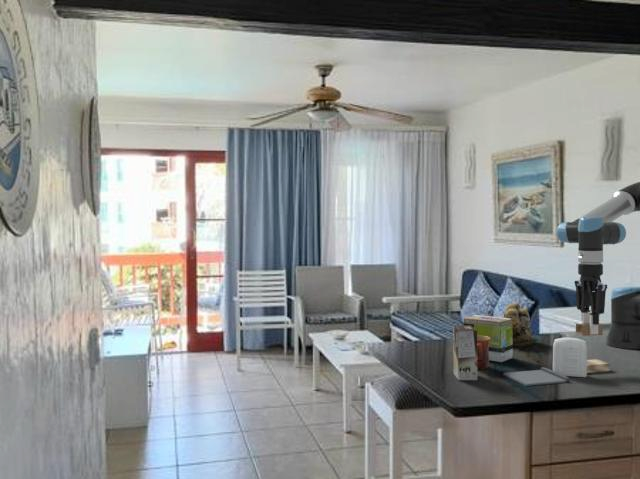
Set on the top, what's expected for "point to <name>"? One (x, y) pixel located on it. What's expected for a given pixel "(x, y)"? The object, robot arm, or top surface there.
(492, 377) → the top surface
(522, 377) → the mat
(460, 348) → the coffee box
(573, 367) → the photo printer
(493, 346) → the tea box
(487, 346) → the mug
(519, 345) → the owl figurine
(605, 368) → the rest
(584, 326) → the tall brown carton
